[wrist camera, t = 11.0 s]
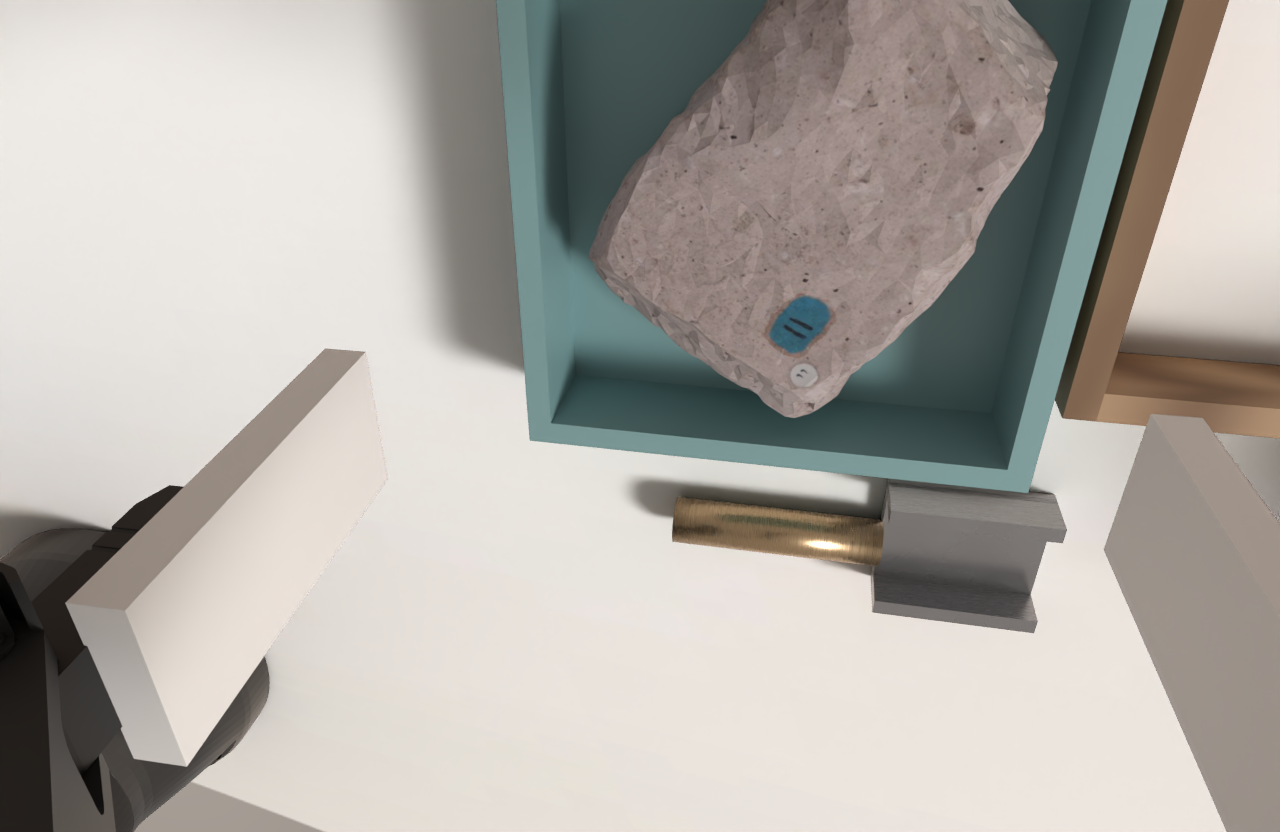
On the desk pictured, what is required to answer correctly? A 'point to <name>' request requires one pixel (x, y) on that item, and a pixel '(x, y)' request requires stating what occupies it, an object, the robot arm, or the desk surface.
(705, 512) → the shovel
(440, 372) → the desk surface
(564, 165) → the bin
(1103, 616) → the desk surface
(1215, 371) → the frame
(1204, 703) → the robot arm
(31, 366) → the desk surface
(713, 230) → the stone
